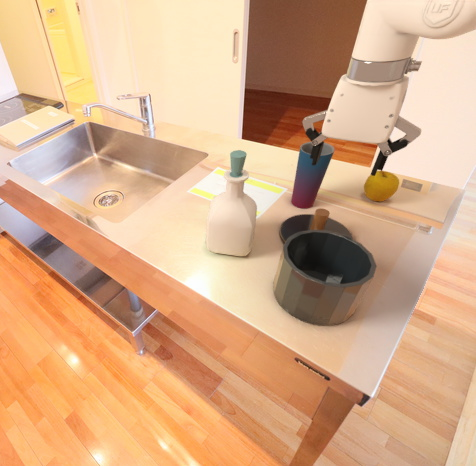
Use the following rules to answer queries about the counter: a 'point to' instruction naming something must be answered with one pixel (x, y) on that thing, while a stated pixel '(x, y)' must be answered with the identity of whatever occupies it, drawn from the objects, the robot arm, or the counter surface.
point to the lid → (312, 224)
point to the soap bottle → (232, 213)
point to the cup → (310, 175)
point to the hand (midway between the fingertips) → (343, 167)
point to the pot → (322, 276)
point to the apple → (381, 186)
